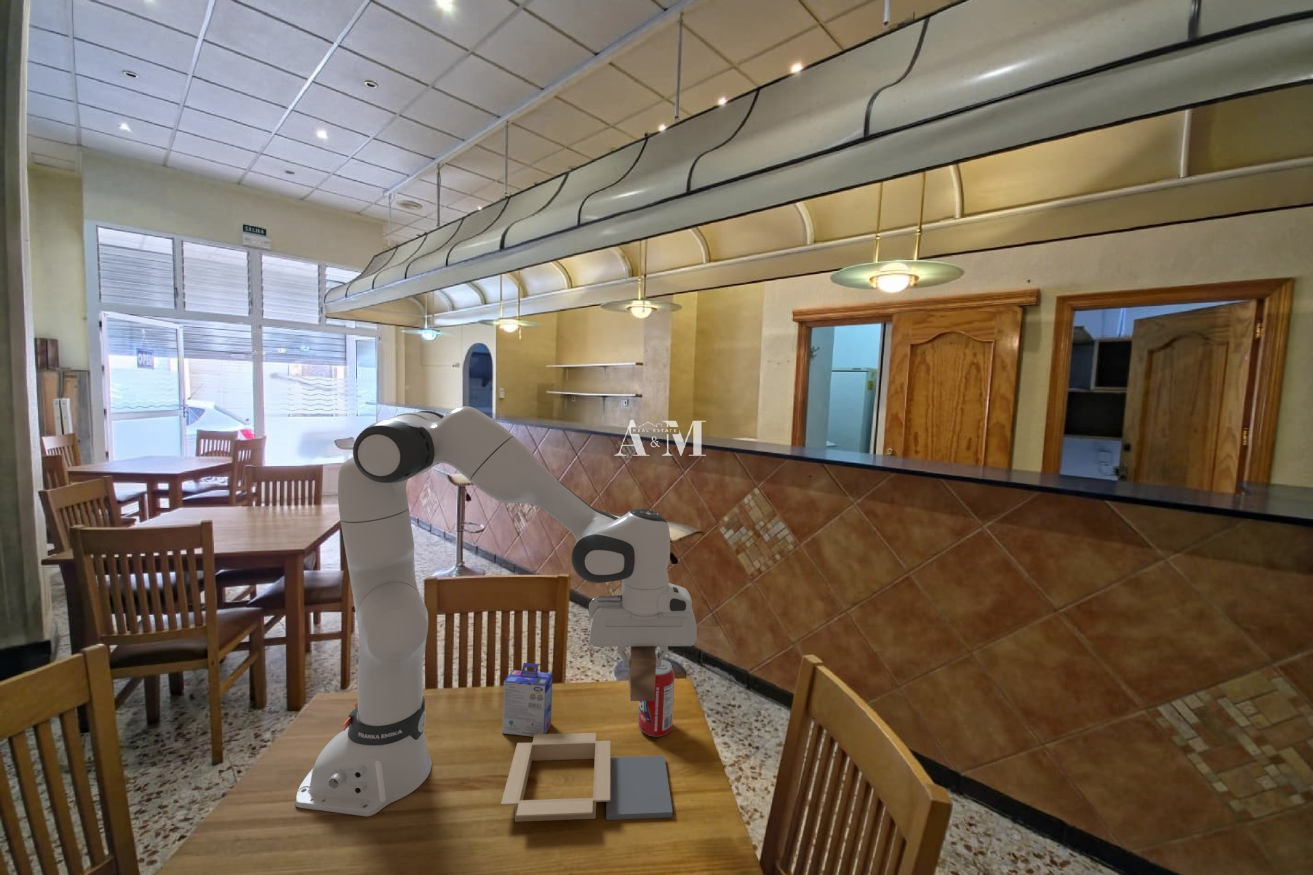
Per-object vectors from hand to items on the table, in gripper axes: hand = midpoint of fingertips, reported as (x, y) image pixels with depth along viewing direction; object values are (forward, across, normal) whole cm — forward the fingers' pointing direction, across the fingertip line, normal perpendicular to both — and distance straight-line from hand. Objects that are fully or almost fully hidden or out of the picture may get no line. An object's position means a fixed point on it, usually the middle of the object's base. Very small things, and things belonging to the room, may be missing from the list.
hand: (641, 665), depth 93 cm
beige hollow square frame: (+25, -15, +1) cm, 29 cm away
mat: (+25, 0, 0) cm, 25 cm away
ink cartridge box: (+25, -24, +18) cm, 39 cm away
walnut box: (+4, 0, 0) cm, 4 cm away
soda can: (+25, +5, +17) cm, 31 cm away
